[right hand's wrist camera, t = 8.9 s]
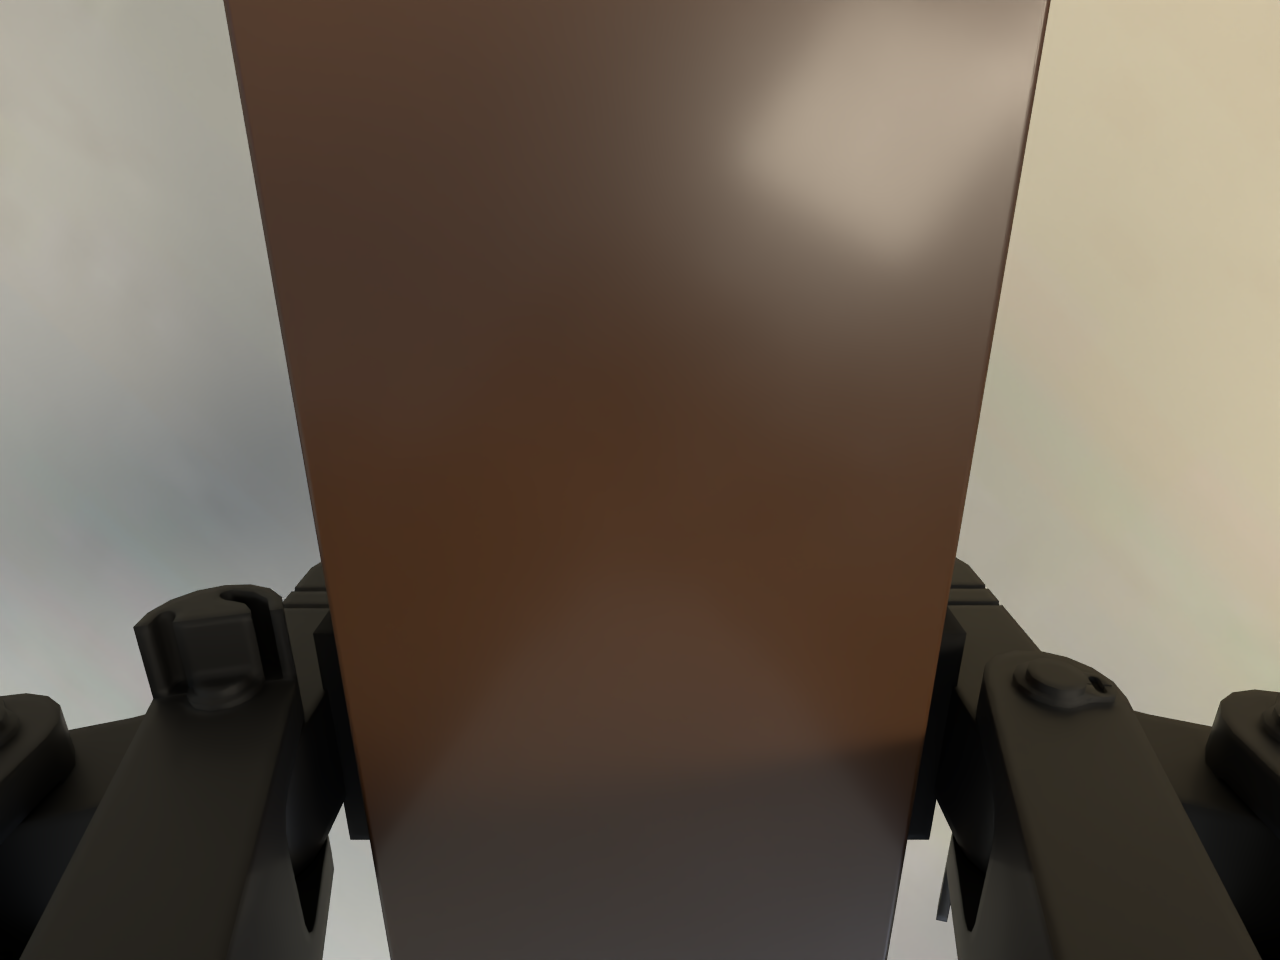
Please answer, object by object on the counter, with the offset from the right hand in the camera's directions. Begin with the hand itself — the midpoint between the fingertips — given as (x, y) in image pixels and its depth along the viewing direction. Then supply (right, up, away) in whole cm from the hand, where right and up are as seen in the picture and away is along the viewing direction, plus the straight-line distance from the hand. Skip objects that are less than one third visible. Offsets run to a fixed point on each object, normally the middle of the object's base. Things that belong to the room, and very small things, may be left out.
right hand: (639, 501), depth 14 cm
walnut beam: (0, +11, -4) cm, 12 cm away
